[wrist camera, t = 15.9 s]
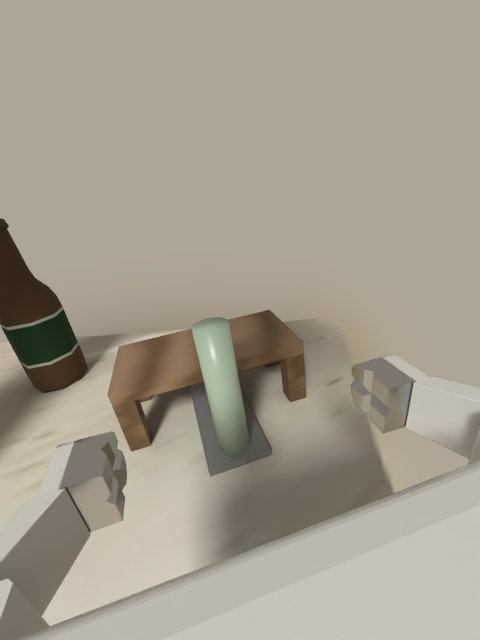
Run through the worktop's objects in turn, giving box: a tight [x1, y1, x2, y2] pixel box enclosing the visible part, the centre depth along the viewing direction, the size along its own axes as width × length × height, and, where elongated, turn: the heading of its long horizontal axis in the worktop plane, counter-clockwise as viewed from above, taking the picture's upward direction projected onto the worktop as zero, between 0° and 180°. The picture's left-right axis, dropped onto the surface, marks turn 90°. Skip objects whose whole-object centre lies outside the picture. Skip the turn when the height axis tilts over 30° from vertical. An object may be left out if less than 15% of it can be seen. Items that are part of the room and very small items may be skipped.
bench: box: [108, 310, 306, 451], centre depth 35 cm, size 20×10×8 cm, turn 105°
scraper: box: [189, 318, 272, 477], centre depth 32 cm, size 17×6×14 cm, turn 17°
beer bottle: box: [0, 219, 87, 393], centre depth 41 cm, size 8×8×24 cm
